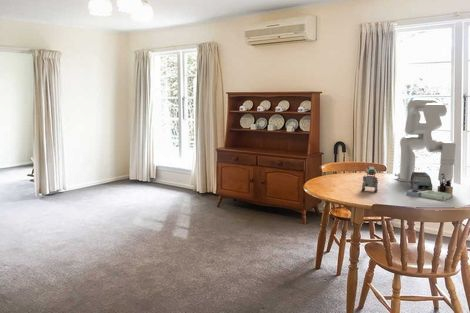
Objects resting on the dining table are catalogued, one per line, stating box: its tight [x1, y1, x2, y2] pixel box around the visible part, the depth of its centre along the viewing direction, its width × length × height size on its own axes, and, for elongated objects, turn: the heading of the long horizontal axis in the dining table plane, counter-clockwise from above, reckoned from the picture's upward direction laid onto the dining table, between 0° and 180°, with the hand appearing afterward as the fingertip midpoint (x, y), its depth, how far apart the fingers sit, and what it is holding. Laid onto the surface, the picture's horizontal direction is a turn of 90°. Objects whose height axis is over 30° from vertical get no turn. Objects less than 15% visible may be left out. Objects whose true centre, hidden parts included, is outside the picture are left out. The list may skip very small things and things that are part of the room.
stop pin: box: [412, 180, 419, 192], centre depth 252 cm, size 4×4×9 cm
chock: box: [437, 185, 454, 195], centre depth 255 cm, size 7×4×5 cm, turn 41°
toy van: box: [409, 171, 433, 191], centre depth 268 cm, size 11×25×10 cm, turn 163°
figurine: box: [361, 165, 379, 193], centre depth 263 cm, size 9×12×15 cm
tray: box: [418, 190, 453, 202], centre depth 247 cm, size 14×11×2 cm
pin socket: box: [406, 188, 423, 198], centre depth 252 cm, size 7×7×2 cm
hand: (445, 190), depth 255 cm, fingers open, 6 cm apart
